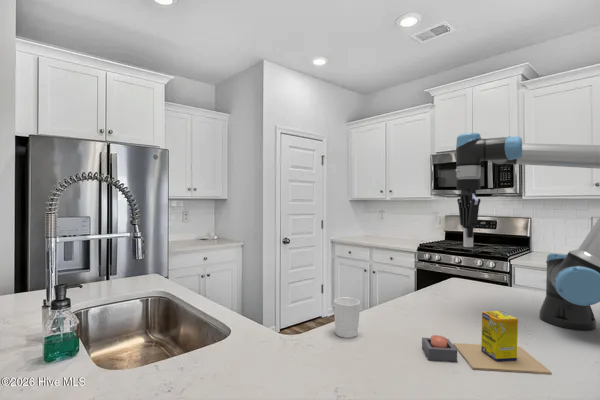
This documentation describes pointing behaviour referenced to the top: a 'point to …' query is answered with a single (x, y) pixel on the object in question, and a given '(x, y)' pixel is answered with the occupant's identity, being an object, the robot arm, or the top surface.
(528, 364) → the thin tan board
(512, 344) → the supplement box
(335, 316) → the white cup
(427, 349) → the button housing
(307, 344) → the top surface
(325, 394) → the top surface
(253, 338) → the top surface
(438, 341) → the button
